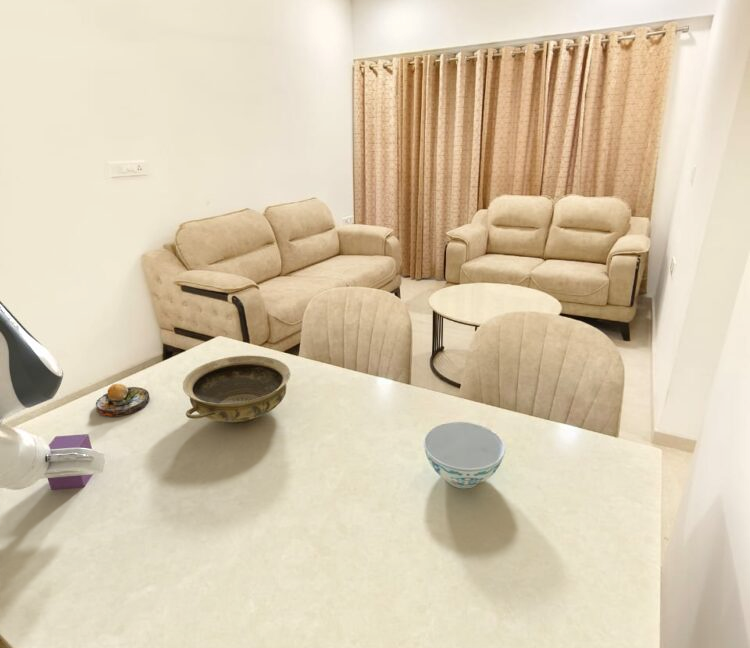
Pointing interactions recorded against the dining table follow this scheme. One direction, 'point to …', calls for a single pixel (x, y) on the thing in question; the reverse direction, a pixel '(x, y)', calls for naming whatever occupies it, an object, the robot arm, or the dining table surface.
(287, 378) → the ceramic bowl
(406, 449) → the dining table surface
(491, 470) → the chinaware
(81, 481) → the block
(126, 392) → the dark lid with knob
